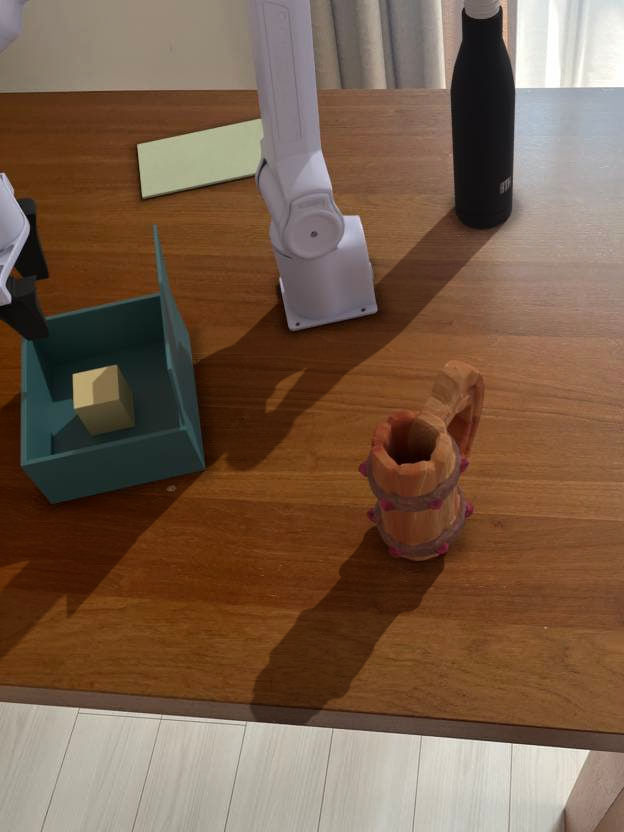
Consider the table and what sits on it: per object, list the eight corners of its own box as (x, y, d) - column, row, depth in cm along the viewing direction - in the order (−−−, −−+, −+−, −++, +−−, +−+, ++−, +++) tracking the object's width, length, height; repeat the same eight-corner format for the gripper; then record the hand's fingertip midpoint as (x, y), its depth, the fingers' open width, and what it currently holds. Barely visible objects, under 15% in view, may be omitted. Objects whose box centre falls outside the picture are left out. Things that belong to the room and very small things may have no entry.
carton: (189, 334, 94) (170, 289, 88) (205, 470, 85) (185, 429, 79) (49, 365, 93) (21, 322, 88) (51, 504, 84) (20, 466, 79)
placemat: (263, 120, 110) (263, 117, 110) (274, 171, 106) (274, 168, 105) (137, 146, 110) (137, 144, 110) (143, 199, 105) (142, 197, 105)
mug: (433, 592, 77) (423, 501, 64) (356, 551, 79) (330, 456, 66) (515, 469, 82) (520, 361, 69) (439, 434, 85) (431, 325, 72)
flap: (166, 285, 88) (169, 285, 88) (181, 425, 79) (185, 424, 79) (152, 224, 81) (156, 224, 81) (167, 369, 73) (171, 368, 73)
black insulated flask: (458, 189, 101) (447, -104, 75) (514, 191, 100) (523, -105, 74) (451, 228, 98) (438, -63, 72) (509, 230, 97) (517, -64, 71)
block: (132, 392, 90) (116, 364, 86) (135, 426, 88) (119, 398, 84) (90, 402, 90) (72, 374, 86) (91, 436, 88) (73, 409, 84)
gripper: (-79, 140, 75) (-2, 261, 87) (-92, 258, 68) (-6, 373, 80) (3, 123, 75) (69, 247, 87) (-1, 239, 68) (71, 356, 80)
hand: (38, 306), depth 83 cm, fingers open, 7 cm apart
